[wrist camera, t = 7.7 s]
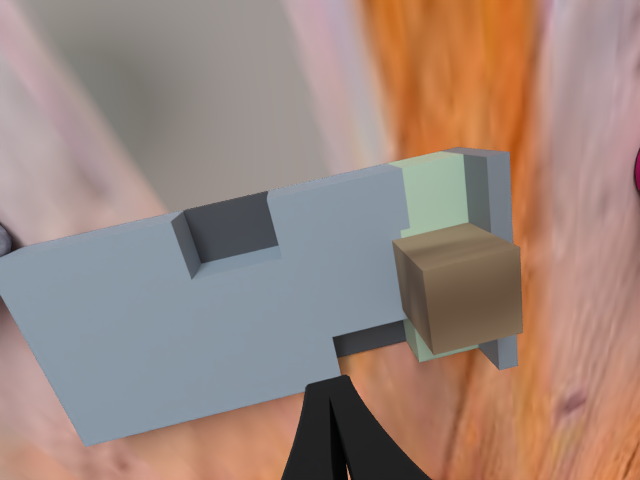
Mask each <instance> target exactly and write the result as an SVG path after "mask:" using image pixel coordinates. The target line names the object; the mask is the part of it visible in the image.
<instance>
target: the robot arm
mask: <svg viewBox="0 0 640 480" xmlns="http://www.w3.org/2000/svg"><path fill="white" fill-rule="evenodd" d="M346 464H347V466H346ZM347 468H348V471H349V474H350V478H351V480H432V479H430V478H429V477H428V476H427V475H426V474H425V473H424V472H423V471H422V470H421V469H420V468H419V467H418V466H417V465H416V464H415V463H414V462H413V461H412V460H411V459H410V458H409V457H408V456H407V455H406V454H405V453H404V452H403V451H402V450H401V448H400V447H399V446H398V445H397V444H396V443H395V442H394V441H393V439H392V438H391V437H390V436H389V435H388V434H387V432H386V431H385V430H384V429H383V428H382V426H381V425H380V424H379V423H378V421H377V420H376V419H375V417H374V416H373V415H372V413H371V412H370V411H369V409H368V408H367V407H366V405H365V404H364V402H363V401H362V399H361V398H360V396H359V394H358V393H357V391H356V389H355V388H354V386H353V384H352V382H351V379H350V377H349V376H347V375H342V376H338V377H334V378H330V379H326V380H322V381H318V382H314V383H310V384H308V385H307V386H306V387H305V395H304V401H303V407H302V412H301V416H300V421H299V424H298V428H297V432H296V435H295V439H294V443H293V446H292V449H291V452H290V455H289V458H288V461H287V464H286V467H285V470H284V473H283V476H282V478H281V480H348V474H347Z"/></svg>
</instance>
